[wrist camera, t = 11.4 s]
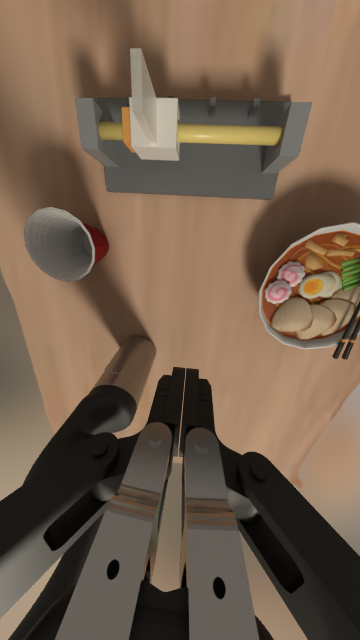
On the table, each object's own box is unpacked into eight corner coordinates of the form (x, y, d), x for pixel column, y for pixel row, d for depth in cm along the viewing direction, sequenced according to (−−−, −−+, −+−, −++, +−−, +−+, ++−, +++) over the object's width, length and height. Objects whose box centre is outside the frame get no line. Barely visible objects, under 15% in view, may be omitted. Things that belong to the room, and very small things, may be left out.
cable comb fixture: (290, 107, 28) (327, 57, 20) (269, 199, 33) (292, 188, 25) (101, 103, 30) (66, 55, 22) (109, 191, 35) (83, 179, 27)
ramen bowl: (261, 216, 34) (279, 210, 27) (392, 219, 33) (448, 215, 25) (238, 332, 45) (247, 351, 37) (336, 339, 43) (365, 360, 36)
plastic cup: (124, 270, 41) (97, 283, 30) (78, 268, 42) (36, 280, 31) (118, 215, 36) (84, 207, 25) (67, 214, 37) (13, 205, 26)
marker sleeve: (180, 119, 26) (169, 43, 16) (179, 160, 28) (167, 116, 18) (140, 118, 27) (101, 42, 16) (141, 159, 28) (107, 115, 18)
